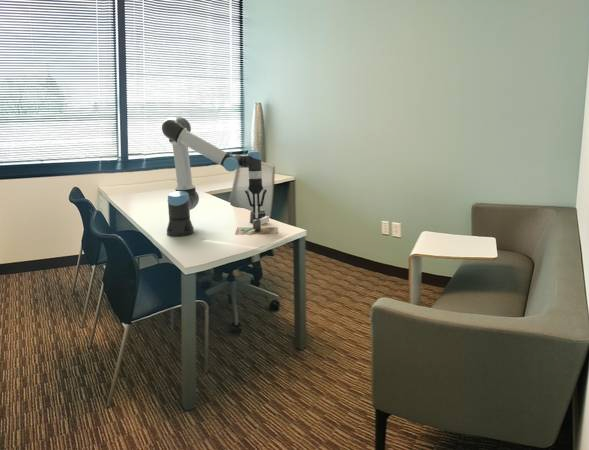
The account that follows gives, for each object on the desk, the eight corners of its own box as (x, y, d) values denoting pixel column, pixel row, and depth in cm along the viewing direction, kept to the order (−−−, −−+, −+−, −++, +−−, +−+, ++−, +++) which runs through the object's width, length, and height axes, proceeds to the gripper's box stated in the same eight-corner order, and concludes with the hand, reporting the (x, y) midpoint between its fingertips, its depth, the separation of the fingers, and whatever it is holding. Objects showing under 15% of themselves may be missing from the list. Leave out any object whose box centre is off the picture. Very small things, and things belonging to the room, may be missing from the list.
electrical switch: (263, 222, 304) (263, 208, 301) (266, 225, 299) (266, 211, 296) (249, 224, 300) (249, 210, 297) (252, 227, 296) (252, 212, 293)
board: (234, 236, 272) (234, 233, 272) (237, 229, 288) (237, 226, 287) (277, 236, 273) (277, 233, 272) (277, 229, 288) (277, 226, 288)
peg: (251, 234, 271) (250, 224, 269) (244, 233, 273) (244, 223, 271) (271, 226, 289) (270, 216, 288) (264, 225, 291) (264, 215, 290)
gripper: (244, 179, 276) (245, 219, 282) (267, 178, 278) (268, 218, 283) (243, 177, 283) (245, 216, 289) (266, 176, 285) (267, 215, 291)
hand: (256, 217), depth 286 cm, fingers closed
